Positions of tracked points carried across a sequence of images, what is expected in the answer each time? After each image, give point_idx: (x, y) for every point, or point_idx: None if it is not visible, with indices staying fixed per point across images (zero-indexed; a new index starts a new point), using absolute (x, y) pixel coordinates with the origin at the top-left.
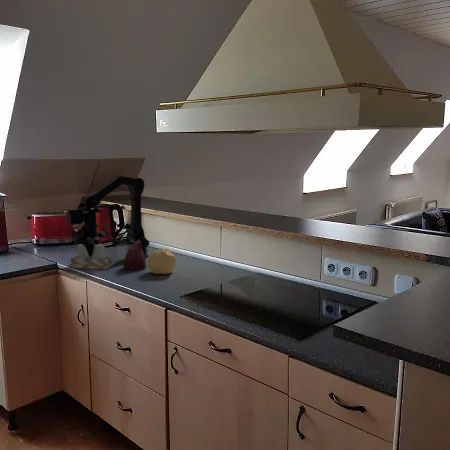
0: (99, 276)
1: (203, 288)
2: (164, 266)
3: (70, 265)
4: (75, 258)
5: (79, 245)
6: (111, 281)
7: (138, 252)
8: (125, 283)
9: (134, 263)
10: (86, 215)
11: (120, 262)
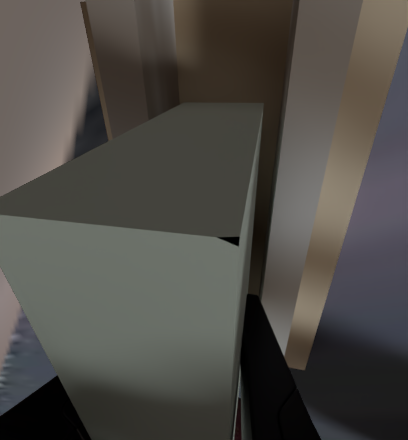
0: (26, 325)
1: None
2: None
3: (88, 33)
4: (108, 91)
5: (22, 279)
6: (4, 367)
7: None
8: (16, 397)
9: None
10: None
11: (356, 376)
